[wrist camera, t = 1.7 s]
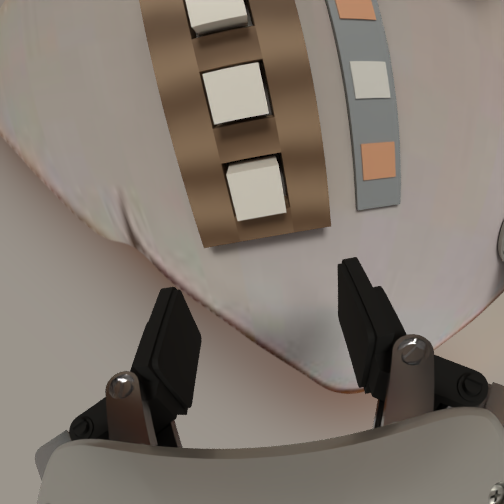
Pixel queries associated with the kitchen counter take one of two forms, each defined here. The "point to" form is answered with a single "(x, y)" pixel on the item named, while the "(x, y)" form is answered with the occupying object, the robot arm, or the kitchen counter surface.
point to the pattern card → (368, 100)
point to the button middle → (235, 93)
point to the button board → (244, 131)
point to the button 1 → (216, 15)
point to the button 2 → (256, 188)
